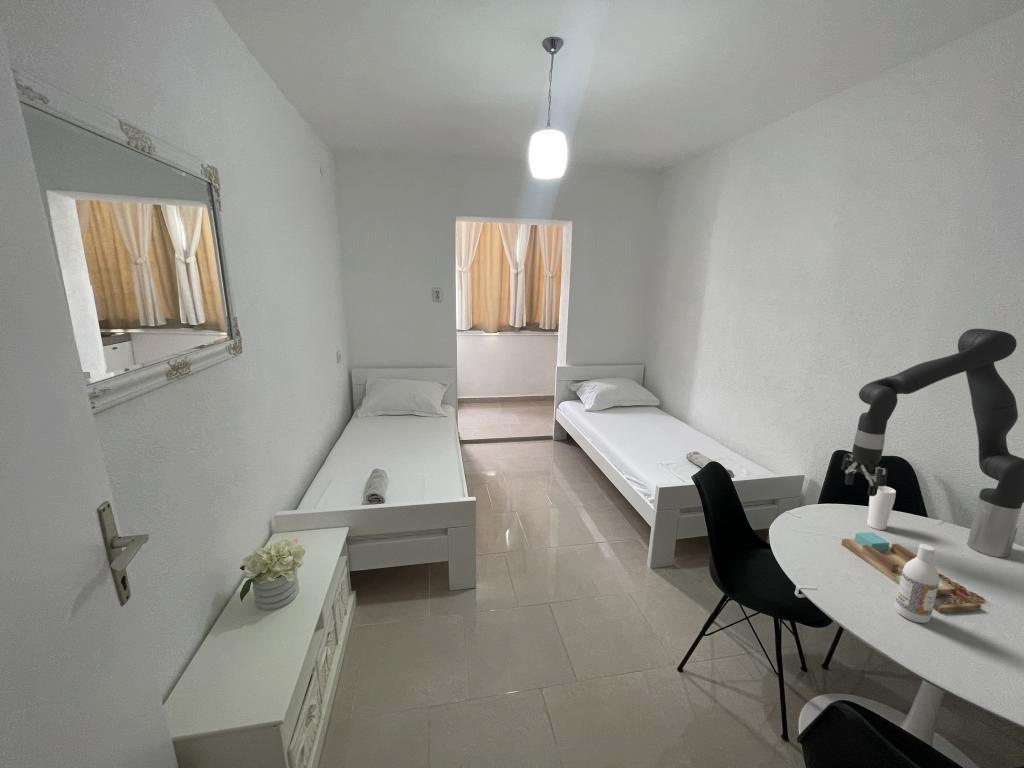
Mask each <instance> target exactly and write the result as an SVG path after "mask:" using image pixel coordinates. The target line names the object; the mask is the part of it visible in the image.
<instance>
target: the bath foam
mask: <svg viewBox="0 0 1024 768" xmlns="http://www.w3.org/2000/svg"><path fill="white" fill-rule="evenodd" d="M917 550H918V551H917V554H916V555H917V557H916V558H914V559H912V560H910V561H909V562H907V563H906V565H905V566H904V568H903V571H902V575H901V580H900V584H898V590H897V593H896V594H897V595H896V599H895V602H894V610H895V611H896V612H897V613H898V614H899V615H900V616H902V617H904V618H905V619H906V620H909V621H911V622H914V623H918V624H927V623H929V622H930V619H931V616H932V615H933V610H934V609H933V606H934V602H935V598H936V593H937V589H938V585H939V578H940V575H939V571H938V570H937V567H936V566H935V564H934V563H933V561H934V555H935V553H936V548H934V547H933V546H931V545H928V544H925V543H921V544H919V546H918V549H917Z"/></svg>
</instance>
